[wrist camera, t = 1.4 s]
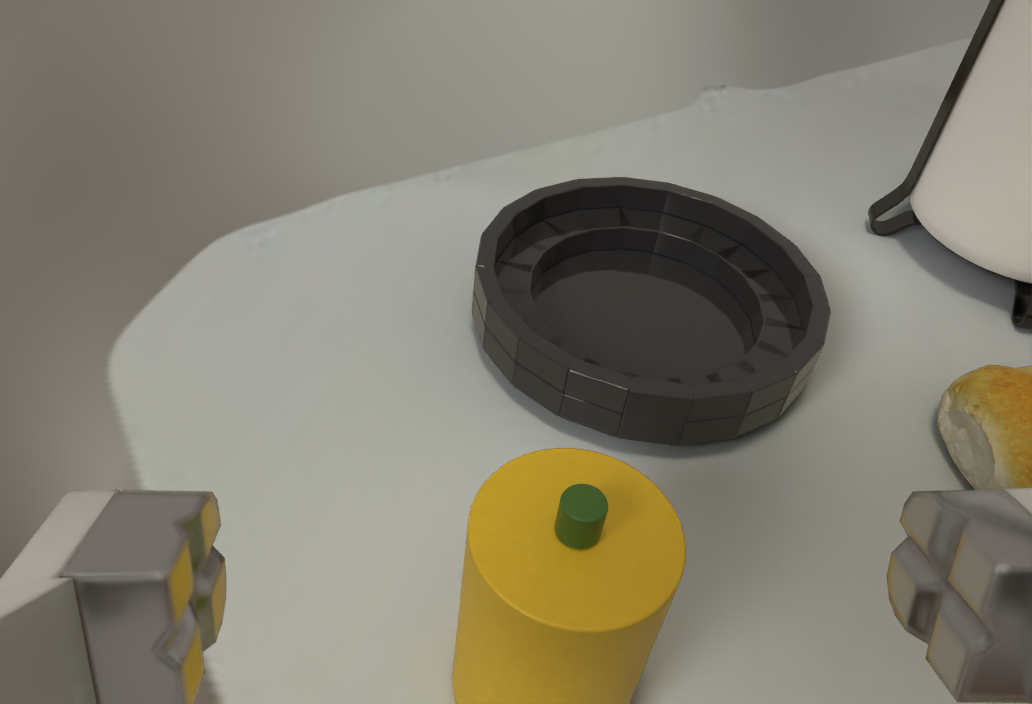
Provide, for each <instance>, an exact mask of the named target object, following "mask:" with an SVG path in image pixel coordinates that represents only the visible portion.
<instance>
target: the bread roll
mask: <svg viewBox="0 0 1032 704" xmlns="http://www.w3.org/2000/svg"><path fill="white" fill-rule="evenodd" d="M937 426H938V429H939V431H940V433H941V436H942V438H943V440H944V442H945V444H946V446H947V449H948V452H949V454H950V456H951V458H952V460H953V461H954V462H955V464H956V466H957V468H958V469H959V470H960V472H961V473H962V474H963V476H964V477H965V478H966V479H967V481H968V482H969V483H970V485H971V486H972V487H973V488H974V489H975V490H987V489H1007V488H1031V487H1032V366H1028V367H1020V368H1016V369H1015V368H1011V367H1005V366H999V365H987V366H984V367H981V368H978V369H976V370H973V371H971V372H968V373H966V374H964V375H963V376H961V377H959V378H958V379H957V380H956V381H954V382H953V383H952V384H951V385H950V387H949V388H948V389H947V390H946V391H945V392H944V394H943V395H942V397H941V402H940V406H939V415H938V421H937Z"/></svg>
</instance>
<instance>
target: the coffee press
mask: <svg viewBox="0 0 1032 704" xmlns="http://www.w3.org/2000/svg"><path fill="white" fill-rule="evenodd" d="M908 195H909V200H910V203H911V206H912V209H913V210H911V211H907V212H904V213H902V214H899V215H897V216H895V217H893V218H891V219H888V220H886V221H876V220H875V219H876V218H878V217H879V216H880V215H882V214H883V213H885V212H887V211H888V210H890V209H891V208H893V207H895V206H896V205H898V204H899V203H900V202H902V201H903V200H904V199H905V198H906V197H907V196H908ZM868 215H869V220H870V225H871V229H872V231H873V232H874V233H876V234H878V235H883V236H885V235H890V234H892V233H895V232H897V231H899V230H901V229H904V228H906V227H909V226H911V225H916V224H922V225H923V226H924V227H925V228H926V229H927V231H928V232H929V233H930V234H931V235H932V236H934V237H935V238H936V239H937V240H938V241H939V242H941V243H942V244H943V245H945V246H946V247H947V248H949V249H950V250H952V251H953V252H955V253H956V254H958V255H959V256H961V257H963V258H965V259H966V260H968V261H970V262H972V263H974V264H976V265H978V266H980V267H983V268H985V269H987V270H990V271H992V272H995V273H997V274H1000V275H1003V276H1006V277H1009V278H1012V279H1013V280H1014V283H1015V300H1014V306H1013V312H1012V321H1013V324H1014V325H1016V326H1021V327H1026V328H1031V329H1032V0H990V2H989V5H988V7H987V9H986V11H985V13H984V15H983V17H982V20H981V21H980V24H979V26H978V28H977V30H976V32H975V34H974V36H973V38H972V41H971V43H970V45H969V47H968V49H967V51H966V53H965V55H964V58H963V60H962V62H961V64H960V66H959V68H958V70H957V72H956V75H955V77H954V79H953V81H952V83H951V85H950V87H949V90H948V92H947V94H946V96H945V98H944V100H943V102H942V104H941V107H940V109H939V111H938V113H937V115H936V117H935V119H934V121H933V124H932V126H931V128H930V130H929V132H928V134H927V136H926V138H925V141H924V143H923V145H922V147H921V149H920V151H919V153H918V155H917V158H916V160H915V162H914V164H913V166H912V168H911V170H910V172H909V174H908V175H907V177H906V179H905V180H904V182H903V183H902V184H901V185H900V186H899V187H898V188H896V189H895V190H894V191H892V192H891V193H889V194H888V195H886V196H885V197H883V198H881V199H880V200H878V201H877V202H875V203H874V204H873V205H872V206H871V207H870V208H869V211H868Z"/></svg>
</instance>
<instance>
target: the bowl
mask: <svg viewBox="0 0 1032 704" xmlns="http://www.w3.org/2000/svg"><path fill="white" fill-rule="evenodd" d="M830 314H831V309H830V306H829V302H828V299H827V296H826V293H825V290H824V286H823V283H822V280H821V277H820V275H819V274H818V273H817V271H816V270H815V269H814V268H813V266H812V265H811V264H810V263H809V261H808V260H807V259H806V258H805V256H804V255H803V254H802V253H801V251H800V250H799V249H798V247H797V246H796V245H794V243H792V242H791V241H790V240H788V239H787V238H786V237H784V236H783V235H782V234H780V233H779V232H778V231H776V230H775V229H774V228H772V227H771V226H770V225H768V224H767V223H766V222H764V221H763V220H762V219H760V218H759V217H757V216H755V215H753V214H751V213H749V212H747V211H745V210H743V209H741V208H739V207H737V206H735V205H733V204H730V203H728V202H726V201H724V200H722V199H720V198H718V197H715V196H712V195H709V194H705V193H702V192H699V191H695V190H692V189H688V188H685V187H682V186H678V185H675V184H671V183H666V182H658V181H650V180H643V179H635V178H627V177H612V178H589V179H577V180H571V181H567V182H564V183H560V184H556V185H552V186H548V187H544V188H540V189H537V190H534V191H532V192H530V193H528V194H527V195H525V196H523V197H521V198H519V199H518V200H516V201H514V202H512V203H511V204H509V205H507V206H505V207H504V208H503V209H502V210H501V211H500V212H499V214H498V215H497V216H496V217H495V218H494V220H493V221H492V222H491V223H490V225H489V226H488V227H487V228H486V230H485V231H484V232H483V233H482V235H481V239H480V244H479V250H478V255H477V261H476V266H475V279H474V290H473V303H472V315H473V318H474V321H475V324H476V328H477V331H478V334H479V337H480V340H481V344H482V347H483V349H484V351H485V352H486V353H487V354H488V356H489V357H490V358H491V359H492V361H493V362H494V363H495V364H496V365H497V367H498V368H499V369H500V370H501V372H502V373H503V374H504V375H505V376H506V378H507V379H508V380H509V381H510V383H511V384H512V385H513V386H514V387H515V388H517V389H518V390H520V391H521V392H523V393H524V394H526V395H527V396H529V397H530V398H532V399H533V400H535V401H536V402H538V403H539V404H541V405H542V406H543V407H545V408H546V409H548V410H549V411H551V412H552V413H554V414H555V415H557V416H560V417H561V418H564V419H567V420H570V421H572V422H575V423H578V424H581V425H583V426H586V427H589V428H591V429H594V430H597V431H600V432H602V433H605V434H608V435H611V436H613V437H617V438H621V439H629V440H637V441H646V442H654V443H662V444H670V445H687V444H695V443H703V442H711V441H719V440H727V439H733V438H734V437H737V436H740V435H742V434H744V433H746V432H748V431H750V430H753V429H755V428H757V427H759V426H761V425H763V424H766V423H768V422H770V421H772V420H774V419H776V418H778V417H779V416H780V415H781V414H782V413H783V412H784V411H785V409H786V408H787V407H788V406H789V405H790V404H791V403H792V401H793V400H794V399H795V398H796V397H797V396H798V395H799V394H800V392H801V391H802V390H803V389H804V387H805V385H806V383H807V380H808V378H809V376H810V374H811V372H812V370H813V368H814V365H815V363H816V361H817V359H818V357H819V354H820V352H821V350H822V348H823V346H824V343H825V338H826V333H827V329H828V324H829V319H830Z"/></svg>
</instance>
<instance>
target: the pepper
mask: <svg viewBox="0 0 1032 704" xmlns="http://www.w3.org/2000/svg"><path fill="white" fill-rule="evenodd" d="M685 557H686V547H685V538H684V534H683V530H682V526H681V524H680V521H679V519H678V516H677V514H676V512H675V510H674V509H673V507H672V505H671V503H670V502H669V501H668V499H667V498H666V497H665V495H664V494H663V493H662V492H661V490H660V489H659V488H658V487H657V486H656V485H655V484H654V483H653V482H652V481H650V480H649V479H648V478H647V477H646V476H645V475H643V474H642V473H640V472H639V471H637V470H636V469H634V468H633V467H631V466H629V465H627V464H626V463H624V462H622V461H619V460H617V459H615V458H612V457H610V456H607V455H604V454H601V453H598V452H593V451H588V450H583V449H574V448H555V449H545V450H540V451H535V452H532V453H529V454H525V455H522V456H520V457H518V458H516V459H514V460H511V461H510V462H508V463H507V464H505V465H503V466H502V467H500V468H499V469H498V470H497V471H496V472H494V473H493V474H492V475H491V476H490V477H489V478H488V479H487V480H486V482H485V483H484V484H483V485H482V487H481V488H480V490H479V491H478V493H477V495H476V497H475V499H474V501H473V503H472V506H471V510H470V513H469V519H468V527H467V537H466V547H465V557H464V567H463V577H462V586H461V596H460V606H459V616H458V626H457V636H456V646H455V656H454V666H453V690H454V696H455V700H456V703H457V704H629V703H630V700H631V698H632V696H633V693H634V691H635V688H636V686H637V684H638V681H639V679H640V676H641V674H642V671H643V669H644V667H645V664H646V662H647V659H648V657H649V655H650V652H651V650H652V647H653V645H654V643H655V640H656V638H657V635H658V633H659V630H660V628H661V626H662V623H663V621H664V618H665V616H666V614H667V611H668V609H669V606H670V604H671V602H672V599H673V597H674V594H675V592H676V589H677V587H678V585H679V582H680V580H681V577H682V575H683V570H684V566H685Z"/></svg>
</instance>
